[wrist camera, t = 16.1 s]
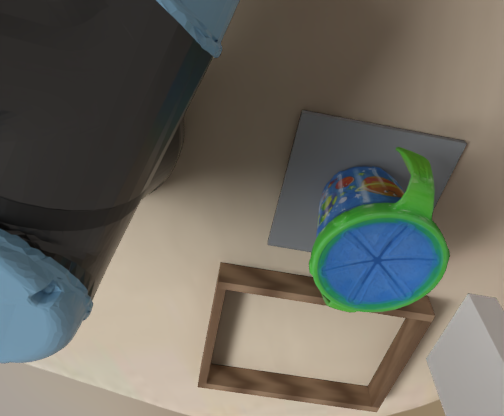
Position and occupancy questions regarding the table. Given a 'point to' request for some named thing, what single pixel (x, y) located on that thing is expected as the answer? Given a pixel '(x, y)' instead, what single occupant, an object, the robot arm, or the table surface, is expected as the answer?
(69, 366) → the table surface
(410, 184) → the snack cup
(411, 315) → the wooden frame
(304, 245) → the slate mat
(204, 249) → the table surface
